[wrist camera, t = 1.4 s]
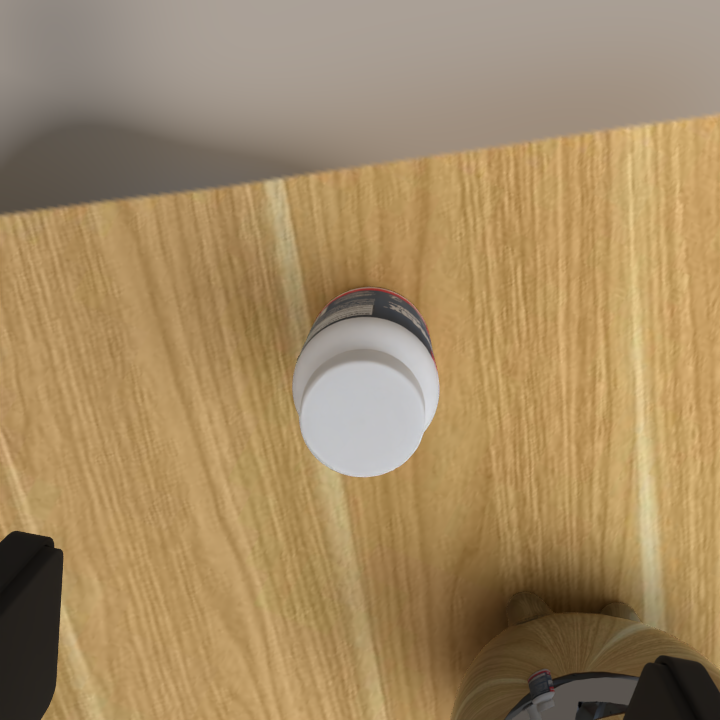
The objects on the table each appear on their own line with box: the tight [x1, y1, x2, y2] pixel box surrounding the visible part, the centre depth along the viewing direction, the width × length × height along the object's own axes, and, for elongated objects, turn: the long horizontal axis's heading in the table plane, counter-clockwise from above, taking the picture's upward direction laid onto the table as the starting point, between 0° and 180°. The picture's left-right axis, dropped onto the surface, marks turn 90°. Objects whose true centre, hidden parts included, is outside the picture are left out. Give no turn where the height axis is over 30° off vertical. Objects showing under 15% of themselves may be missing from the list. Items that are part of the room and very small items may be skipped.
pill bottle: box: [293, 287, 439, 477], centre depth 25 cm, size 5×5×9 cm
